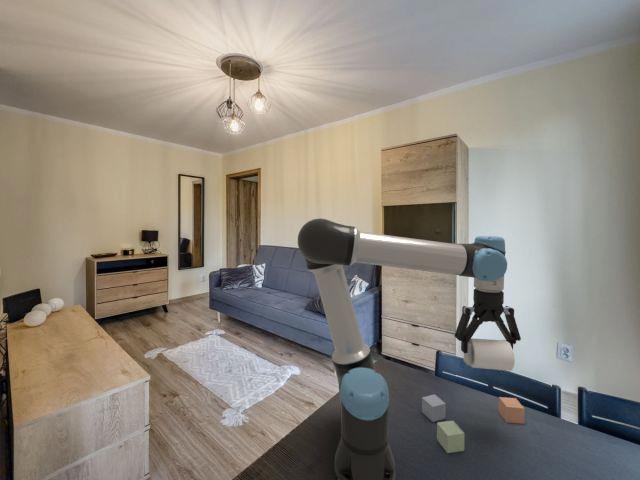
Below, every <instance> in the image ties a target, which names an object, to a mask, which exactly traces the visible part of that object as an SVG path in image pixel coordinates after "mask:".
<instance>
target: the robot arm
mask: <svg viewBox="0 0 640 480" xmlns="http://www.w3.org/2000/svg"><path fill="white" fill-rule="evenodd" d="M297 246H298V250H299V252H300V253H301V255H302V256H303V257H304V261H305V263H306V264H305V265H306V269H307V271H309V272H310V273H312V274H313V275H314V278H315V281H316V285H317V288H318V292H319V297H320V300H321V303H322V306H323V311H324V314H325V318H326V321H327V325H328V329H329V332H330V337H331V340H332V344H333V346H334V347H333V348H334V351H333V353H332V354H331V359H332V363H333V367H334V371H335V374H336V378H337V383H338V392H339V401H340V425H341V426H340V433H341V434H340V439H339V441H338V442H339V443H338V445H337V448H336V451H335V455H334V474H335V473H336V474H335V477H336V476H337V477H336V479H337V478H338V479H339V480H396V463H395V459H394V455H393V453H392V449H391V446H390V444H389V403H390V393H389V388H388V387H389V386H388V383H387V381H386V379H385V378H384V377H383V376H382V375H381V374H380V373H379V372H377V370H376V366H375V363H374V359H373V356H372V351H371V348H370V346H369V345H368V344H366V343H364V341H363V338H362V333H361V330H360V326H359V322H358V319H357V315H356V312H355V308H354V305H353V304H354V303H353V299H352V296H351V293H350V289H349V285H348V281H347V277H346V273H345V270H344V266H349V267H351V266H352V265H354V264H355V263H357V264H367V265H373V266H374V265H375V266H381V267H388V268H389V267H390V268H398V269H403V270H404V269H406V270H414V271H421V272H429V273H430V272H431V273H436V274H437V273H439V274H445V275H452V276H459V277H464V278H466V277H467V278H473V287H474V289H473V305H472V306H466V305H463V306H462V309H461V310H462V311H461V315H460V316H461V317H460V319H459V321H458V324H457V327H456V329H455V333H454V335H453V336H454V338H456V340H458V341H459V342H460V350H461V352H462V353H463V362H464V363H465V364H466V365H467V366H470V365H471V343H470V342H469V340H470V339H471V338H473V336H474V334H475V333H476V331H477V330H478V329H479V327H480V325H483V323H487V322H491V323H495V325H496V326H497V328H498V329H499V331H500V332H501V334H502V335H503V337H504V340H505V341H507V342H509V344H510V345H511V347H512V349H513V350H514V345H516V344H517V341H519V342H520V341H521V340H522V338H521V334H520V332H519V327H518V324H517V322H516V318H515V309H514V308H513V307H511V306H509V305H506V306H503V305H504V303H505V301H504V299H505V298H504V297H505V296H504V295H505V293H504V291H503V290H504V289H505V286H504V285H505V274H506V273H507V269H508V260H507V258H506V253H507V252H506V240H505V239H504V238H503V237H501V236H492V235H489V236H488V235H486V236H485V235H484V236H483V235H482V236H476V237H475V238H474V242H472V243H450V242H444V241H443V242H442V241H433V240H427V239H419V238H412V237H411V238H410V237H403V236H396V235H389V234H388V235H387V234H380V233H374V232H366V231H365V232H364V231H360V230H359V229H358V228H357V227H356V226H351V225H344V224H341V223H337V222H334V221H331V220H329V219H327V218H322V217H321V218H314V219H311V220H308V221H307V222H306V223H304V225H302V227H301V228H300V230H299V232H298V235H297ZM473 313H474V314H473ZM502 314H504V317H505V320H506V324H505V323H504V322H505V321H504V320H503V318H502V317H501V315H502ZM472 315H473V316H472ZM471 316H472V317H471ZM506 325H507V326H506ZM338 479H337V480H338Z"/></svg>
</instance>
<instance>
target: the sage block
mask: <svg viewBox="0 0 640 480" xmlns="http://www.w3.org/2000/svg"><path fill="white" fill-rule="evenodd" d="M465 435H466V434H465V432H464V431H463V430H462V429H461V428H460V427H459V425H458V424H457V423H456V422H455V421H454V420H448V421H437V423H436V440H437V442H438V443H439V444H440V446H441V447H442V448H443V449H444V451H445V452H446V454H450V453H451V454H452V453H458V452H459V453H460V452H464V451H465Z"/></svg>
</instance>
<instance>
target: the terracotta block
mask: <svg viewBox="0 0 640 480" xmlns="http://www.w3.org/2000/svg"><path fill="white" fill-rule="evenodd" d="M525 411H526V409H525V407H524V406H523V405H522V404H521V403H520V401H519V400H518V399H517V398H516V397H506V396H505V397H502V396H499V397H498V413H499V414H500V415H501V417H502V419H503V420H504V421H505V422H506V423H509V424H511V423H512V424H520V425H521V424H523V425H525Z"/></svg>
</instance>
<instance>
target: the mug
mask: <svg viewBox="0 0 640 480" xmlns="http://www.w3.org/2000/svg"><path fill="white" fill-rule="evenodd" d="M505 340H506V339H486V338H485V339H484V338H473V337H471V339H470V340H469V342H470V343H471V365H469V366H470V367H471V368H473V369H486V370H497V371H509V372H510V371H513V370H514V368H515V363H516V362H515V353H514V348H513V349H512V347H511V345H510V344H509V342H507V341H505Z"/></svg>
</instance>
